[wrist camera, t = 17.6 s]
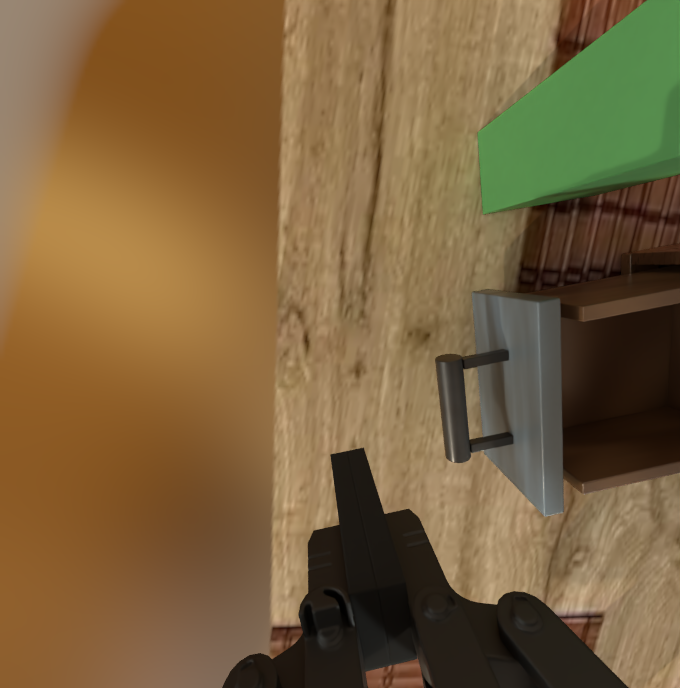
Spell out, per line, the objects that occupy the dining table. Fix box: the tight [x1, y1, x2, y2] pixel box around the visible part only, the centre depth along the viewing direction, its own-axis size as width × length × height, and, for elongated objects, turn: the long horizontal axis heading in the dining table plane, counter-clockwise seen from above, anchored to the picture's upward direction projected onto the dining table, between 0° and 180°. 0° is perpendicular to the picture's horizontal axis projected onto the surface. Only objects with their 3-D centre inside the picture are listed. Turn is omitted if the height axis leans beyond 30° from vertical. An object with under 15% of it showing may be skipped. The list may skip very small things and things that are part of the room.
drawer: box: [435, 265, 680, 516], centre depth 21 cm, size 19×12×7 cm, turn 100°
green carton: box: [478, 0, 680, 214], centre depth 16 cm, size 8×5×13 cm, turn 100°
